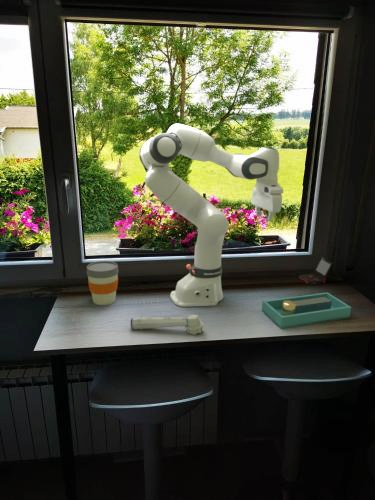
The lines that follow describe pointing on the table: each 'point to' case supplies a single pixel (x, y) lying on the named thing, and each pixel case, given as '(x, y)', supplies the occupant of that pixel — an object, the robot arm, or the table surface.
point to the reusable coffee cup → (103, 281)
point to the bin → (275, 313)
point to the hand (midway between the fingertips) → (263, 218)
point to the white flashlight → (169, 323)
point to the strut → (305, 306)
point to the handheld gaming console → (318, 273)
